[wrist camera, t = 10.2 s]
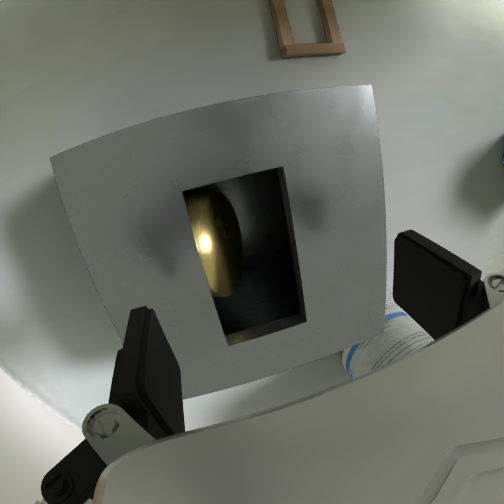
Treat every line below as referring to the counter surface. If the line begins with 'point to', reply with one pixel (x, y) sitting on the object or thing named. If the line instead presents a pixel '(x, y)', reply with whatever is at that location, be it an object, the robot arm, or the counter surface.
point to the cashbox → (251, 226)
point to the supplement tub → (385, 344)
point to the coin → (217, 240)
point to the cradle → (313, 49)
